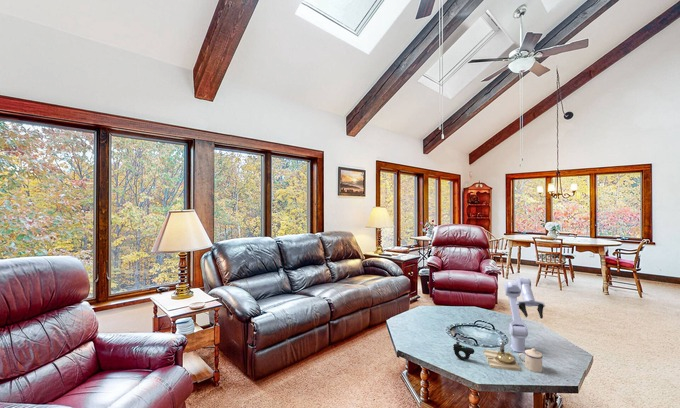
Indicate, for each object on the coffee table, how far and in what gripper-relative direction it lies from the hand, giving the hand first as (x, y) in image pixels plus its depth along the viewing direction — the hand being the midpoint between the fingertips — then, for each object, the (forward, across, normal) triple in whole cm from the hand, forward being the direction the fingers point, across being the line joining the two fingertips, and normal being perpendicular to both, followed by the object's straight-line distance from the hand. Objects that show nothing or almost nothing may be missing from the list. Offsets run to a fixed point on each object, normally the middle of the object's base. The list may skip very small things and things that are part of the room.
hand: (534, 317), depth 173 cm
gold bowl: (+13, -13, +29) cm, 34 cm away
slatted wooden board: (+14, -15, +31) cm, 37 cm away
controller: (+17, -37, +28) cm, 50 cm away
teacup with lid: (+17, 0, +28) cm, 33 cm away
